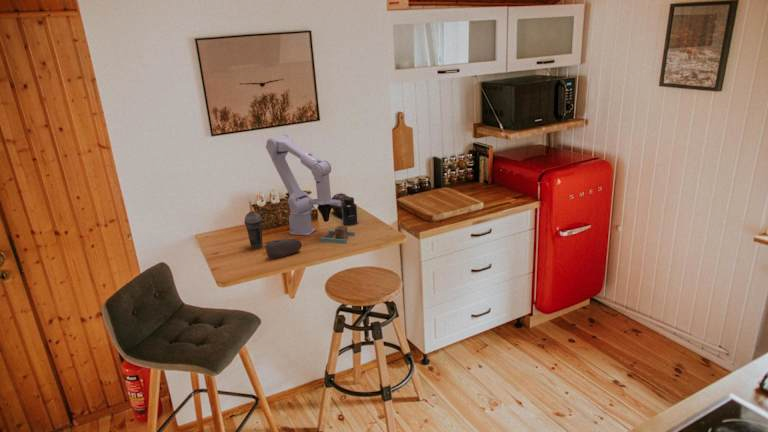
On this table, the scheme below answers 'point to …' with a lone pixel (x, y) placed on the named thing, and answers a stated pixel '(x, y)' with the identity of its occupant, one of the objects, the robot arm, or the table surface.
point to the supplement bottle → (349, 211)
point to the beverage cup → (254, 228)
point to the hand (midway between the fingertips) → (326, 221)
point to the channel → (329, 239)
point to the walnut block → (341, 232)
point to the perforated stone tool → (282, 247)
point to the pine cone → (338, 208)
